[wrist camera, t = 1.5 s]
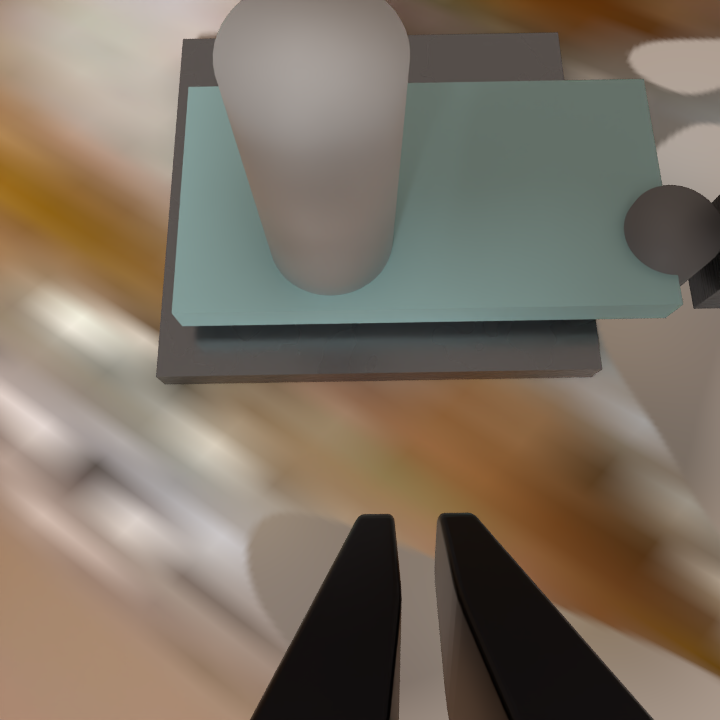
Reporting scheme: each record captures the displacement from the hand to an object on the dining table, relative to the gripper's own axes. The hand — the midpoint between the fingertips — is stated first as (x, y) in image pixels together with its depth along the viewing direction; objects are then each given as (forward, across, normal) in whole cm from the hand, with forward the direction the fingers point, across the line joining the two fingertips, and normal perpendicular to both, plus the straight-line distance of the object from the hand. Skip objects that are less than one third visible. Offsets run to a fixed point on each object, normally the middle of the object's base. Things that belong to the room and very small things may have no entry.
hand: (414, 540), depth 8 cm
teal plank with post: (+17, -2, +1) cm, 18 cm away
